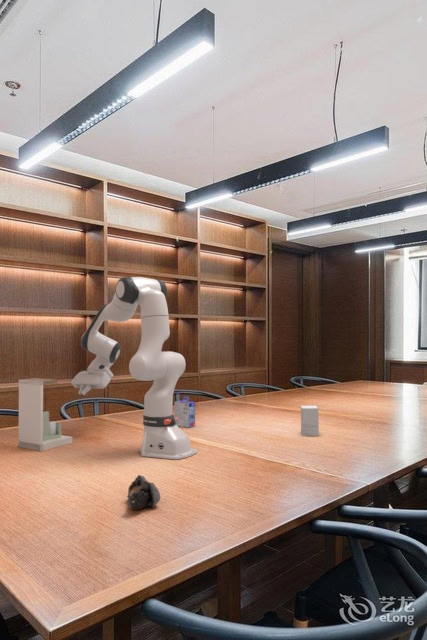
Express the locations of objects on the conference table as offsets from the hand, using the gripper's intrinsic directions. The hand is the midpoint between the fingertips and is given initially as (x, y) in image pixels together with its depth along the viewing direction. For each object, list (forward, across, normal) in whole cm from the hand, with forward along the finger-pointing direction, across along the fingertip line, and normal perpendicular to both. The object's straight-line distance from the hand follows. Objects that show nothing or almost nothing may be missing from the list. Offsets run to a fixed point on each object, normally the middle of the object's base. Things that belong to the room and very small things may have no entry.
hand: (81, 394), depth 208 cm
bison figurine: (+50, +76, -18) cm, 93 cm away
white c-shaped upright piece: (+26, -2, +1) cm, 26 cm away
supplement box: (-26, +85, +57) cm, 105 cm away
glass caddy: (+24, -2, -1) cm, 25 cm away
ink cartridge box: (-17, +25, +45) cm, 54 cm away
